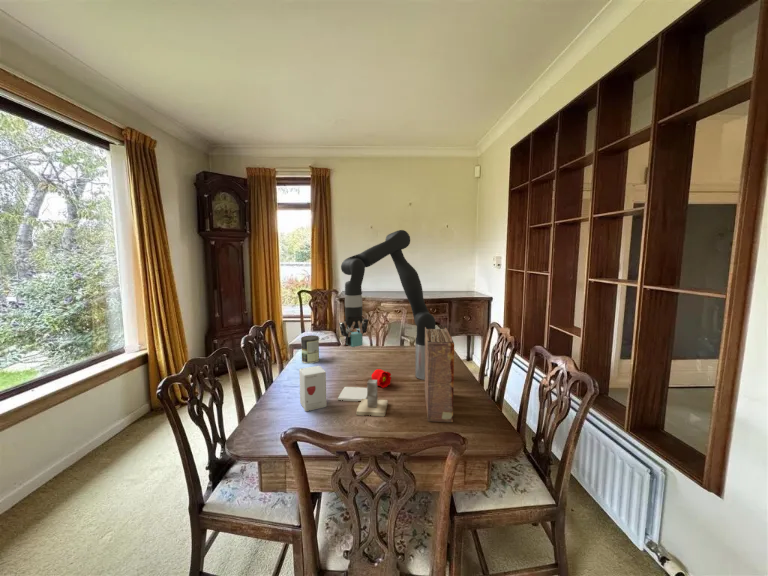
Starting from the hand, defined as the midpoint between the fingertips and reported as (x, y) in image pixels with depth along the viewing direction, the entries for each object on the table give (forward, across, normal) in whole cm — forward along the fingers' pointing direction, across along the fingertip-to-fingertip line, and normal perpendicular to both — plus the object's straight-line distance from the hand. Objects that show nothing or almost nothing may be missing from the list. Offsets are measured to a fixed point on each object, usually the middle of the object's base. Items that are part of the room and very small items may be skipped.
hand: (354, 343), depth 137 cm
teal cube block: (0, 0, 0) cm, 0 cm away
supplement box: (+24, +18, -4) cm, 30 cm away
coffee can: (+24, -6, -57) cm, 62 cm away
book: (+24, -20, +30) cm, 43 cm away
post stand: (+23, +2, +15) cm, 28 cm away
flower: (+24, -16, -2) cm, 28 cm away
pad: (+23, 0, -1) cm, 23 cm away
